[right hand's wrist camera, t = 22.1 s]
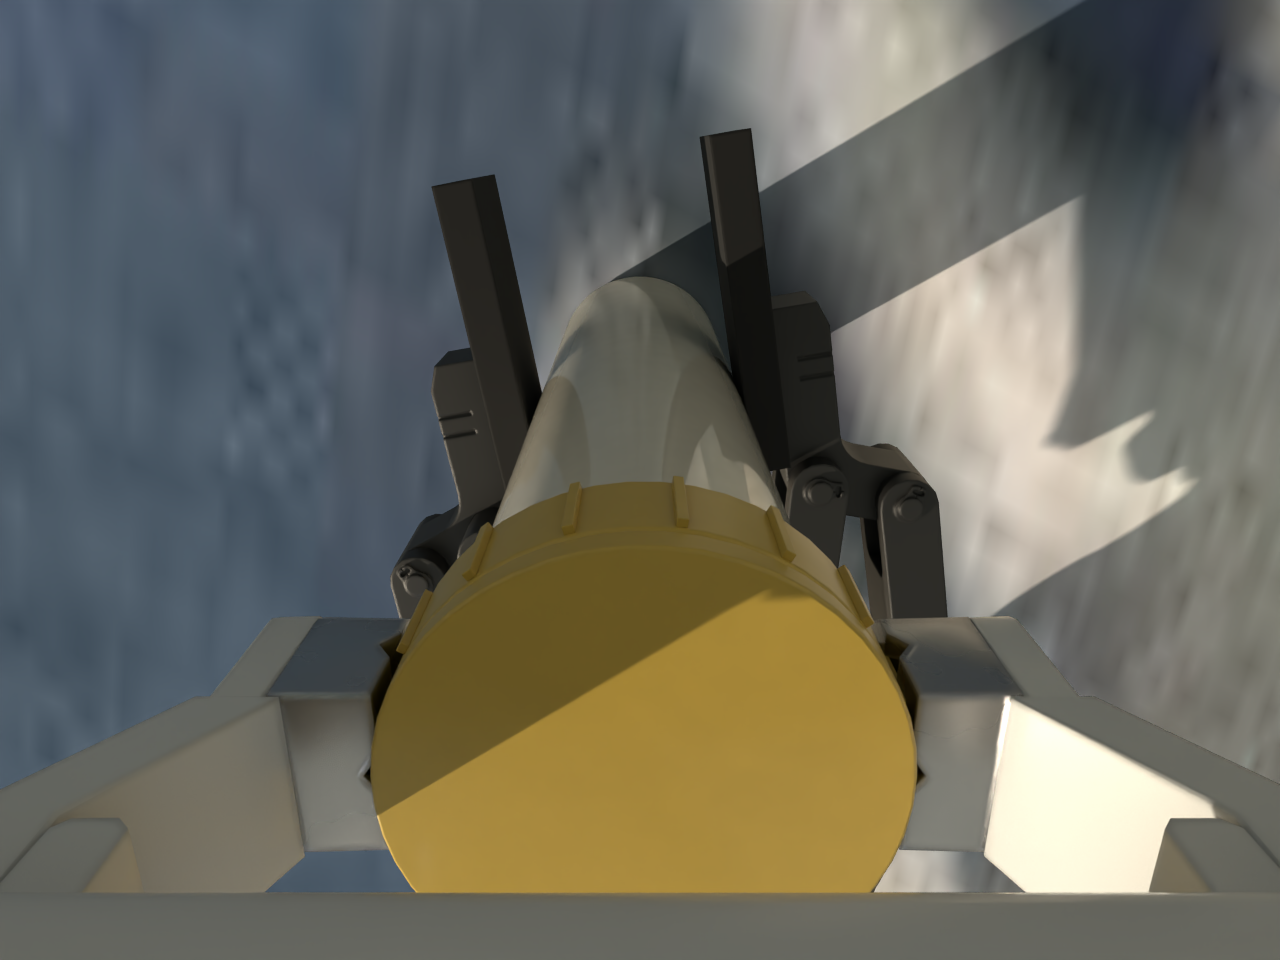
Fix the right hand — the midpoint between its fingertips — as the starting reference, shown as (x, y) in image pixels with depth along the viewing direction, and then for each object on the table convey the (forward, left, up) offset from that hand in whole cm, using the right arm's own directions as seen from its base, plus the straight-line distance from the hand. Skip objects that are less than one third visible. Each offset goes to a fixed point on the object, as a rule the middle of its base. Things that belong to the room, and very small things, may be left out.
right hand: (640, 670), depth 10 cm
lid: (0, 0, +2) cm, 2 cm away
